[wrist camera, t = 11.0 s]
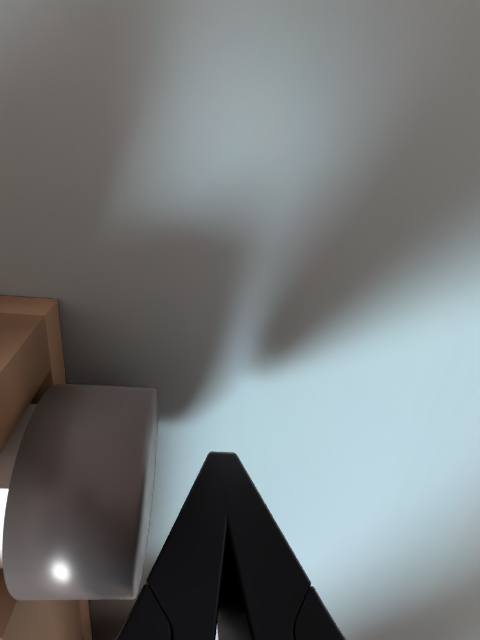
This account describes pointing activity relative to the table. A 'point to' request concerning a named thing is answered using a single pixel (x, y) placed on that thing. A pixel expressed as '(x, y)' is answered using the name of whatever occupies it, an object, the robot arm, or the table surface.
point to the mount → (3, 416)
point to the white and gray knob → (78, 493)
